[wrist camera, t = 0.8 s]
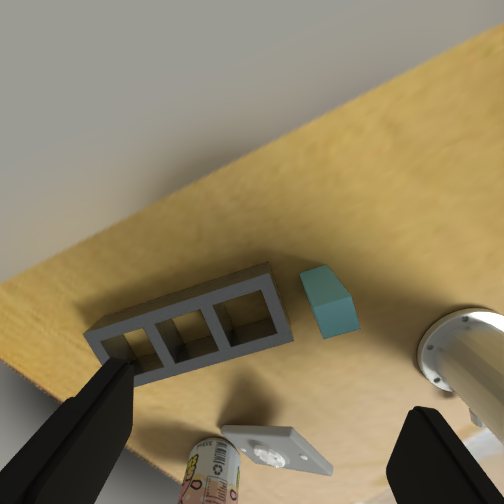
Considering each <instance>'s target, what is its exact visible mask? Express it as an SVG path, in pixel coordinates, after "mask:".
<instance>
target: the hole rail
mask: <svg viewBox="0 0 504 504" xmlns="http://www.w3.org/2000/svg"><path fill="white" fill-rule="evenodd" d="M258 290H261V291H262V293H263V296H264V299H265V301H266V304H267V306H268V309H269V312H270V314H271V318H268V319H265V320H261V321H258V322H255V323H252V324H248V325H245V326H242V327H238V328H235V329H234V327H233V325H232V323H231V320H230V318H229V316H228V314H227V311H226V309H225V307H224V304H223V302H224V301H227V300H230V299H233V298H236V297H240V296H243V295H246V294H249V293H252V292H255V291H258ZM199 309H200V310H201V312H202V314H203V316H204V318H205V320H206V323H207V325H208V327H209V329H210V331H211V333H212V336H209V337H206V338H202V339H199V340H196V341H193V342H189V343H186V344H184V342H183V340H182V338H181V336H180V334H179V332H178V330H177V328H176V326H175V324H174V322H173V320H172V318H174V317H177V316H180V315H184V314H187V313H190V312H193V311H196V310H199ZM140 328H144V330H145V332H146V334H147V336H148V337H149V339H150V341H151V343H152V345H153V347H154V349H155V350H156V352H157V353H153V354H150V355H147V356H144V357H140V358H136V356H135V354H134V352H133V351H132V349H131V347H130V345H129V344H128V342H127V340H126V338H125V336H124V335H123V334H124V333H127V332H131V331H134V330H137V329H140ZM83 335H84V337H85V339H86V340H87V342H88V343H89V345H90V347H91V348H92V350H93V352H94V353H95V355H96V356H97V358H98V360H99V361H100V363H101V365H102V366H103V364H104V363H105V362H106V361H107V360H108V359H109V358H110V357H116V358H123V359H128V360H129V361H130V365H134V387H137V386H141V385H144V384H148V383H151V382H155V381H158V380H162V379H165V378H168V377H172V376H175V375H179V374H182V373H186V372H189V371H192V370H196V369H199V368H203V367H206V366H210V365H213V364H217V363H220V362H223V361H227V360H230V359H234V358H237V357H241V356H244V355H248V354H251V353H254V352H258V351H261V350H265V349H268V348H272V347H275V346H279V345H282V344H285V343H289V342H292V341H294V338H293V334H292V329H291V324H290V321H289V318H288V315H287V313H286V310H285V307H284V304H283V302H282V299H281V296H280V293H279V291H278V288H277V285H276V282H275V280H274V277H273V274H272V271H271V269H270V266H269V263H268V262H265V263H262V264H259V265H256V266H253V267H250V268H247V269H244V270H241V271H238V272H235V273H232V274H229V275H226V276H223V277H220V278H217V279H214V280H211V281H208V282H205V283H202V284H199V285H196V286H193V287H190V288H187V289H184V290H181V291H178V292H175V293H172V294H170V295H167V296H164V297H161V298H158V299H155V300H152V301H149V302H146V303H143V304H140V305H137V306H134V307H131V308H128V309H125V310H122V311H119V312H116V313H113V314H110V315H107V316H104V317H102V318H100V319H99V320H98V321H97V322H96V323H95V324H94V325H92V326H91V327H90V328H89V329H88V330H87V331H86V332H85V333H83Z"/></svg>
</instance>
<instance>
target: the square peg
mask: <svg viewBox="0 0 504 504" xmlns="http://www.w3.org/2000/svg"><path fill="white" fill-rule="evenodd" d="M299 275H300V278H301V281H302V284H303V287H304V290H305V293H306V296H307V299H308V301H309V304H310V306H311V309H312V311H313V314H314V316H315V319H316V321H317V324H318V326H319V329H320V331H321V334H322V336H323V339H327V338H330V337H334V336H337V335H341V334H344V333H347V332H351V331H354V330H358V329H361V328H360V325H359V321H358V318H357V314H356V311H355V307H354V304H353V300H352V297H351V295H350V294H349V292H348V291H347V290H346V289H345V287H344V286H343V285H342V283H341V282H340V281H339V280H338V278H337V277H336V276H335V274H334V273H333V272H332V271H331V269H330V268H329V267H328V266H327V264H326V265H323V266H320V267H317V268H314V269H311V270H308V271H305V272H302V273H299Z"/></svg>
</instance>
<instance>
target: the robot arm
mask: <svg viewBox="0 0 504 504" xmlns="http://www.w3.org/2000/svg"><path fill="white" fill-rule="evenodd" d="M417 358H418V364H419V367H420V370H421V371H422V373H423V374H424V375H425V377H426V378H427V379H428V380H429V381H430V382H431V383H432V384H434V385H435V386H436V387H438V388H441V389H443V390H446V391H450V392H455V393H456V394H457V395H458V396H459V397H460V398H461V399H462V400H463V401H464V402H465V404H466V405H467V406H468V407H469V411H470V417H471V421H472V422H473V423H474V424H475V425H477V426H479V427H487V428H488V429H489V430H490V431H491V432H492V433H493V434H494V435H495V436H496V438H497V439H498V440H499V441H500V442H501V443H502V444H503V445H504V316H503V315H501V314H499V313H497V312H495V311H492V310H488V309H483V308H469V309H463V310H459V311H456V312H453V313H451V314H448V315H446V316H445V317H443V318H441V319H440V320H438V321H437V322H436V323H434V324H433V325H432V326H431V327H430V328H429V329H428V331H427V332H426V333H425V334H424V336H423V338H422V339H421V342H420V344H419V347H418V353H417ZM133 391H134V365H130V361H129V360H128V359H123V358H116V357H110V358H109V359H108V360H107V361H106V362H105V363H104V364H103V366H102V367H101V368H100V369H99V370H98V371H97V372H96V374H95V375H94V376H93V377H92V378H91V379H90V380H89V381H88V383H87V384H86V385H85V386H84V387H83V388H82V389H81V391H80V392H79V393H78V394H77V395H76V396H75V397H70V398H68V399H67V400H66V401H64V402H63V403H62V404H61V405H60V406H59V408H58V409H57V410H56V411H55V412H54V413H53V414H52V415H51V416H50V417H49V419H48V420H47V421H46V422H45V423H44V424H43V425H42V426H41V427H40V429H39V430H38V431H37V432H36V433H35V434H34V435H33V436H32V437H31V438H30V439H29V441H28V442H27V443H26V444H25V445H24V446H23V447H22V448H21V449H20V450H19V452H18V453H17V454H16V455H15V456H14V457H13V458H12V459H11V460H10V462H9V463H8V464H7V465H6V466H5V467H4V468H3V469H2V470H1V472H0V504H94V503H95V501H96V499H97V497H98V495H99V493H100V491H101V490H102V488H103V486H104V484H105V482H106V480H107V478H108V476H109V474H110V472H111V471H112V469H113V467H114V465H115V463H116V461H117V459H118V457H119V456H120V453H121V451H122V450H123V448H124V446H125V444H126V442H127V440H128V438H129V436H130V434H131V430H132V425H133ZM386 475H387V480H388V482H389V485H390V487H391V490H392V492H393V495H394V497H395V499H396V502H397V504H504V497H503V496H502V494H501V493H500V492H499V491H498V489H497V488H496V487H495V485H494V484H493V483H492V481H491V480H490V479H489V477H488V476H487V475H486V473H485V472H484V471H483V469H482V468H481V467H480V465H479V464H478V463H477V461H476V460H475V459H474V457H473V456H472V455H471V453H470V452H469V451H468V449H467V448H466V447H465V445H464V444H463V443H462V441H461V440H460V439H459V437H458V436H457V435H456V434H455V432H454V431H453V430H452V428H451V427H450V426H449V424H448V423H447V422H446V420H445V419H444V418H443V416H442V415H441V414H440V413H439V411H438V410H436V409H434V408H427V407H421V406H415V407H414V408H413V410H410V411H409V412H408V414H407V417H406V419H405V422H404V424H403V427H402V429H401V432H400V434H399V437H398V439H397V442H396V444H395V447H394V449H393V452H392V454H391V457H390V459H389V462H388V464H387V467H386Z"/></svg>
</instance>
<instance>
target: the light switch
mask: <svg viewBox="0 0 504 504" xmlns="http://www.w3.org/2000/svg"><path fill="white" fill-rule="evenodd" d="M221 434H222V435H224V436H225V437H226V438H227V439H228V440H229V441H230V442H232V443H233V444H234V445H235V446H236V447H237V448H238V449H240V450H241V451H242V452H243V453H244V454H245V455H246V456H248V457H249V458H250V459H251V460H252V461H253V462H254V463H256V464H261V465H267V466H273V467H277V468H278V467H279V468H285V469H291V470H297V471H303V472H309V473H315V474H321V475H327V476H332V475H333V465H332V464H331V463H329V462H328V461H327V460H326V459H325V458H324V457H323V456H322V455H321V454H320V453H319V452H318V451H317V450H316V449H315V448H314V447H313V446H312V445H311V444H310V443H309V442H308V441H306V440H305V439H304V438H303V437H302V436H301V435H300V434H299V433H298V432H297V431H296V430H295V429H294V428H293V427H283V426H243V425H223V427H222V429H221ZM254 446H255V447H254Z"/></svg>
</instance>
